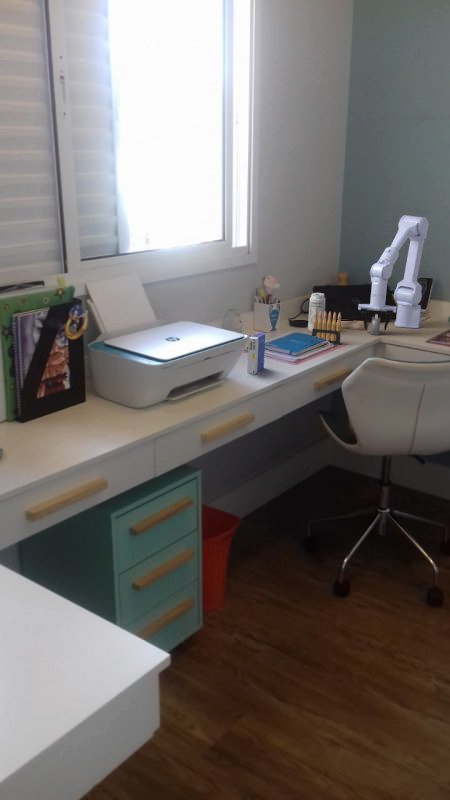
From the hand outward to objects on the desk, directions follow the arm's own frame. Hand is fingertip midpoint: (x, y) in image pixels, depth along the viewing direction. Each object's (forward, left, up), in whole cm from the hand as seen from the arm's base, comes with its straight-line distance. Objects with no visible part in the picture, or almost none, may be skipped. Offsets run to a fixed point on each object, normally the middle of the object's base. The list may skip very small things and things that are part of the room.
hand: (375, 328), depth 287 cm
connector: (0, 0, -2) cm, 2 cm away
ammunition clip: (+18, +19, -2) cm, 26 cm away
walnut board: (+10, -10, -2) cm, 14 cm away
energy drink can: (+23, +4, -2) cm, 23 cm away
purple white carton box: (+38, +60, -2) cm, 71 cm away
